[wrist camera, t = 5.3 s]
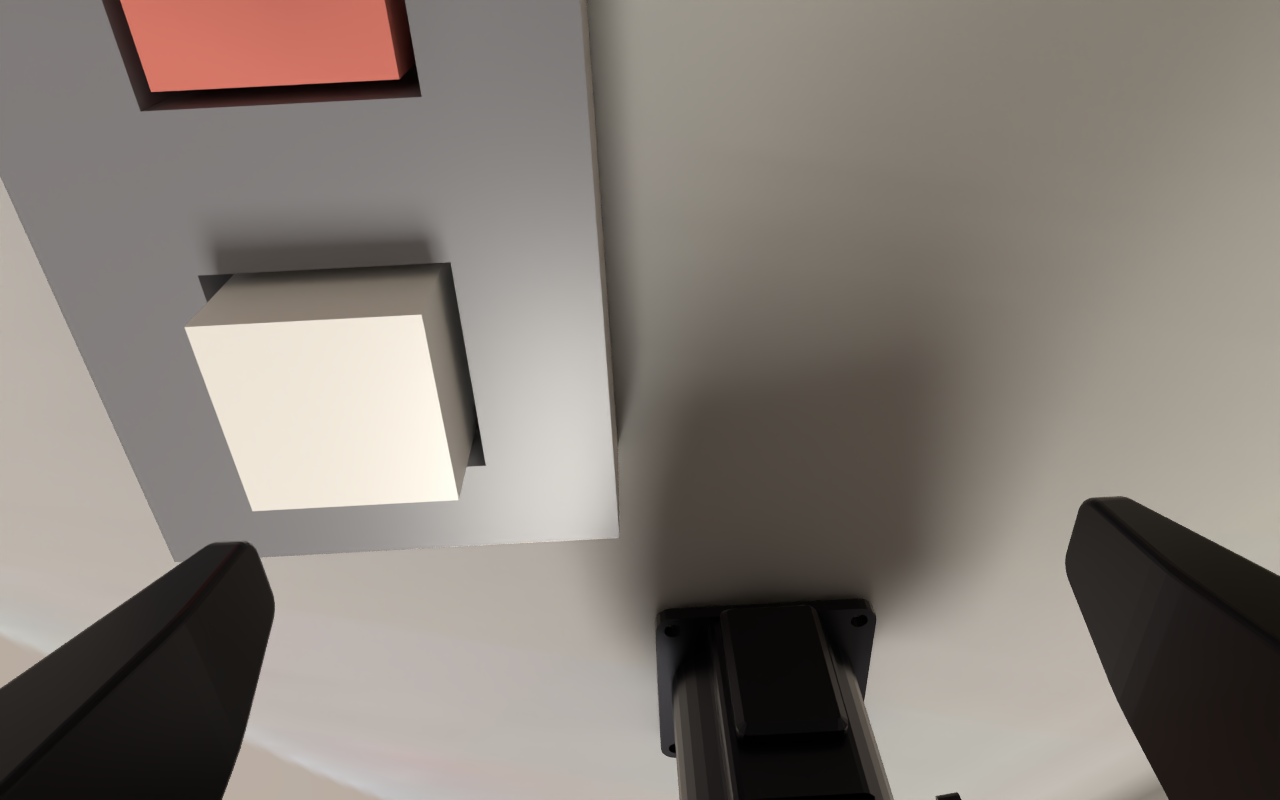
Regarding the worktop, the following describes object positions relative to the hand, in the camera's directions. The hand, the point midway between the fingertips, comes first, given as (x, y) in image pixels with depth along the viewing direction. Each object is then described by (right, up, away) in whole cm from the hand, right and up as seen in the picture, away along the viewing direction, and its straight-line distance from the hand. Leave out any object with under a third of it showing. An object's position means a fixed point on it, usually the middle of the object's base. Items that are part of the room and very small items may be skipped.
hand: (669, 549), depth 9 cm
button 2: (-6, +3, +9) cm, 11 cm away
